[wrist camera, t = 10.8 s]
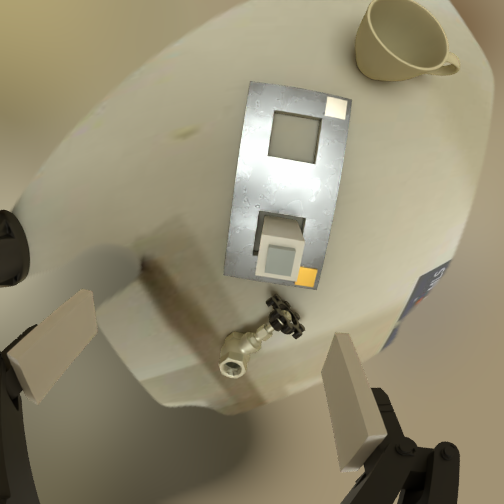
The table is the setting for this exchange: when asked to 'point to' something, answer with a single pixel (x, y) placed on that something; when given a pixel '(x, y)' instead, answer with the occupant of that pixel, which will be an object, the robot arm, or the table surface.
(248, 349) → the valve
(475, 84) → the table surface
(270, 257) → the plug
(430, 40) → the mug
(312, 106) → the grey slotted tray
